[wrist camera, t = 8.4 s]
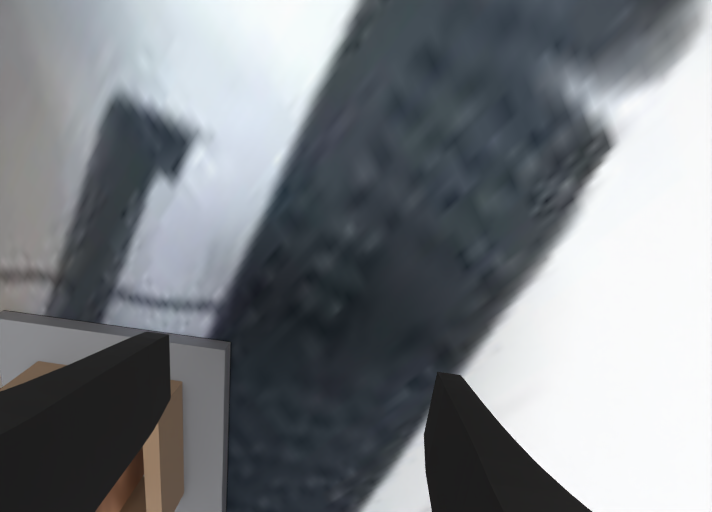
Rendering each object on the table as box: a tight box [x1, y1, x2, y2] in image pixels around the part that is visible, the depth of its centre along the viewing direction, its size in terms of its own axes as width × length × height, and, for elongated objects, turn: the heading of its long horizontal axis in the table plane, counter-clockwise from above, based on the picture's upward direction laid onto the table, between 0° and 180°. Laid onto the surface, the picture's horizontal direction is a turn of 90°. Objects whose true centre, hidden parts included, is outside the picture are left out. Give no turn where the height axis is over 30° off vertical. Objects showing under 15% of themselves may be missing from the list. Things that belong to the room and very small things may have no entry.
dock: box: [0, 310, 231, 512], centre depth 23 cm, size 12×12×3 cm
